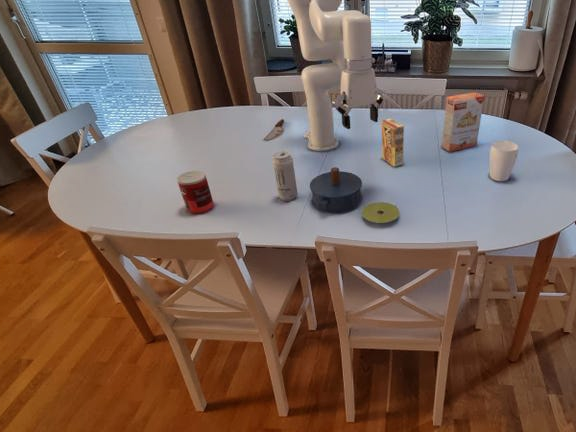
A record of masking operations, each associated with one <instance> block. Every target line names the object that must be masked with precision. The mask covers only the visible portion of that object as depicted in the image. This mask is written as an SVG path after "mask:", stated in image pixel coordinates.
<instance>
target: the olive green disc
mask: <svg viewBox="0 0 576 432" xmlns="http://www.w3.org/2000/svg"><path fill="white" fill-rule="evenodd" d="M361 215H362V217H363V218H364V219H365V220H367V221H369V222H372V223H376V224H384V223H389V222H392V221H394V220H396V219H397V218H398V217H399V215H400V209H399V208H398V207H397V206H396V205H394V204H393V203H389V202H383V201H377V202H371V203H369V204H367V205H365V206H364V207H363V208H362V210H361Z"/></svg>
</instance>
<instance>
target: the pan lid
mask: <svg viewBox="0 0 576 432" xmlns="http://www.w3.org/2000/svg"><path fill="white" fill-rule="evenodd" d="M362 187H363V181H362V179H361V177H360V176H358V175H357V174H354V173H353V172H349V171H342V170H341V171H340V168H339V167H337V166H334V167H331V168H330V171H329V172H324V173H321V174H319V175H317V176H315V177H313V178H312V179H311V180H310V182H309V190H310V191H311V193H312V192H313V193H314V194H315V195H317V196H320V197H323V198H330V199H336V198H344V197H348V196H351V195H353V194H355V193H357V192H358V191H359V190H360V189H361V188H362ZM361 190H362V189H361Z"/></svg>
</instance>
